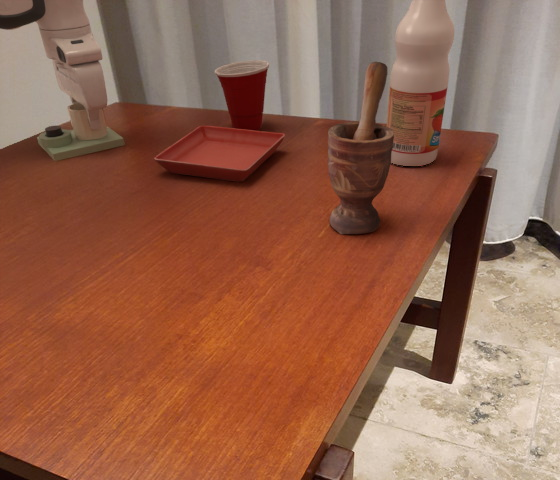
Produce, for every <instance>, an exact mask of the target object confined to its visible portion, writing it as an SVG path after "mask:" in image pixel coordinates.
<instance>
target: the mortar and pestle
mask: <svg viewBox="0 0 560 480" xmlns="http://www.w3.org/2000/svg"><path fill="white" fill-rule="evenodd" d="M387 78H388V66H387V65H386V63H384V62H381V61H372V62H370V63H368V67H367V68H366V71H365V76H364V82H363V91H362V102H361V103H362V104H361V109H360V110H361V111H360V119H359V121H349V122H345V123H337V124H336V125H333V126H331V127H330V128H329V129H328V131H327V167H328V171H327V172H328V177H329V181H330V185H331V188H332V191H333V192H334V193H335V194H336V196H337V197H338V198H339V199H340V203H339V205H336V206H335V207H334V208H333V210H332V211H331V213H330V216H329V220H328V221H329V225H330V226H331V227H332V228H333V230H335V231H336V232H338V233H339V234H340V235H357V234H358V235H361V234H368V233H373V232H375V231H376V230H377V229H379V227H380V225H381V222H382V221H381V218H380V215H379V211H378V210H377V209H376V207H375V206H374V205H373V201H374V199H375V198H376V197H377V196H379V194H380V193H381V192H382V190H383V189H384V187H385V184H386V181H387V179H388V176H389V172H390V168H391V164H392V163H391V154H392V148H393V140H394V134H393V133H394V132H393V130H391V129H390V128H389V127H386V125H383V124H380V123H376V121H377V120H376V117H377V115H378V109H379V106H380V101H381V99H382V97H383V94H384V91H385V87H386V83H387Z"/></svg>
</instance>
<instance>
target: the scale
mask: <svg viewBox="0 0 560 480" xmlns="http://www.w3.org/2000/svg"><path fill="white" fill-rule="evenodd" d="M61 129H62V133H63V135H61V136H58V137H47V135H46V131H44V132H41V133H40V134H39V135H38V136H36V139H37V143H38V145H39V147H41V148H42V149H43V150H44V152H46V153H47V154H48V156H50V158H51V159H52V160H53V161H54V162H58V161H62V160H67V159H70V158H71V159H72V158H75V157H81V156H84V155H87V154H92V153H97V152H101V151H105V150H109V149H115V148H119V147H123V146H126V144H125V139H124V137H123V136H121V135H120V134H119V133H117V132H116V131H115V130H113V128H111V127H109V126H108V125H107V129H108V134H107V135H106V136H105V137H102V138H99V139H95V140H79V139H77V138H76V137H75V134H74V132H73V129H64V128H61Z"/></svg>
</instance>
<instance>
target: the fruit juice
mask: <svg viewBox="0 0 560 480" xmlns="http://www.w3.org/2000/svg"><path fill="white" fill-rule="evenodd" d="M454 40H455V25H454V23H453V21H452V19H451V17H450V15H449V12H448V9H447V4H446V0H411V3H410V5H409V7H408V9H407V11H406V13H405V14H404V16H403V17H402V19H401V20H400V21H399V23H398V24H397V27H396V30H395V35H394V46H395V54H396V55H395V61H394V62H393V65H392V68H391V72H390V79H389V92H388V93H389V94H388V102H387V103H388V104H387V114H386V115H387V117H386V125H385V126H386V127H389V128H390V129H391V130H393V132H394V133H393V134H394V140H393V148H392V154H391V164H392V163H393V164H392V165H394V164H397V165H396V166H398V165H403V166H418V165H424V164H428V163H431V162H433V161H434V160H435V161H436V159H437V157H438V153H439V147H440V142H441V141H440V139H441V133H442V127H443V120H444V114H445V106H446V100H447V93H448V87H449V79H450V63H449V54H450V51H451V49H452V46H453V44H454ZM435 161H434V162H435ZM434 162H433V163H434ZM431 164H432V163H431ZM403 166H402V167H403Z"/></svg>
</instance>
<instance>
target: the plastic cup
mask: <svg viewBox="0 0 560 480" xmlns="http://www.w3.org/2000/svg"><path fill="white" fill-rule="evenodd" d="M269 67H270V62H269V61H266V60H258V59H255V60H254V59H253V60H242V61H236V62H232V63H228V64H225V65H222V66H219V67H217V68H216V69H214V75H215V76H216V77H217V79H218V82H219V83H220V86H221V88H222V92H223V96H224V100H225V104H226V107H227V111H228V115H229V116H230V121H231V126H232V128H235V129H245V130H254V131H261V129H262V126H263V116H264V115H263V114H264V109H265V107H264V106H265V97H266V96H265V95H266V84H267V77H268V70H269V69H270V68H269Z"/></svg>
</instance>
